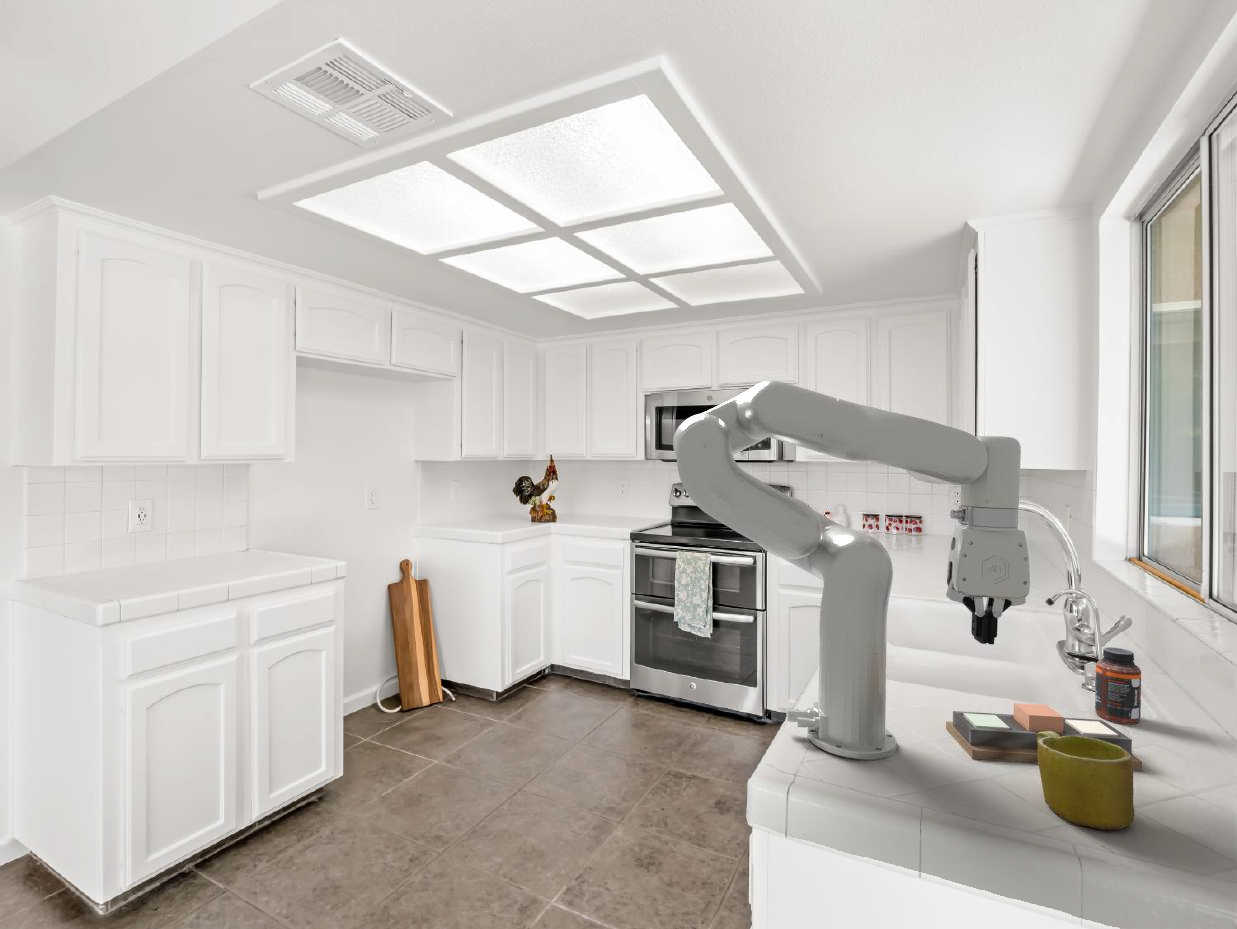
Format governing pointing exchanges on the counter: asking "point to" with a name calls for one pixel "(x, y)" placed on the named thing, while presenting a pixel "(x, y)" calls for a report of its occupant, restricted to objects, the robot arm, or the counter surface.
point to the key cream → (1090, 728)
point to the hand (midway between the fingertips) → (983, 641)
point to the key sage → (985, 721)
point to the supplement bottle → (1118, 687)
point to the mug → (1086, 780)
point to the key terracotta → (1038, 717)
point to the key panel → (1018, 739)
